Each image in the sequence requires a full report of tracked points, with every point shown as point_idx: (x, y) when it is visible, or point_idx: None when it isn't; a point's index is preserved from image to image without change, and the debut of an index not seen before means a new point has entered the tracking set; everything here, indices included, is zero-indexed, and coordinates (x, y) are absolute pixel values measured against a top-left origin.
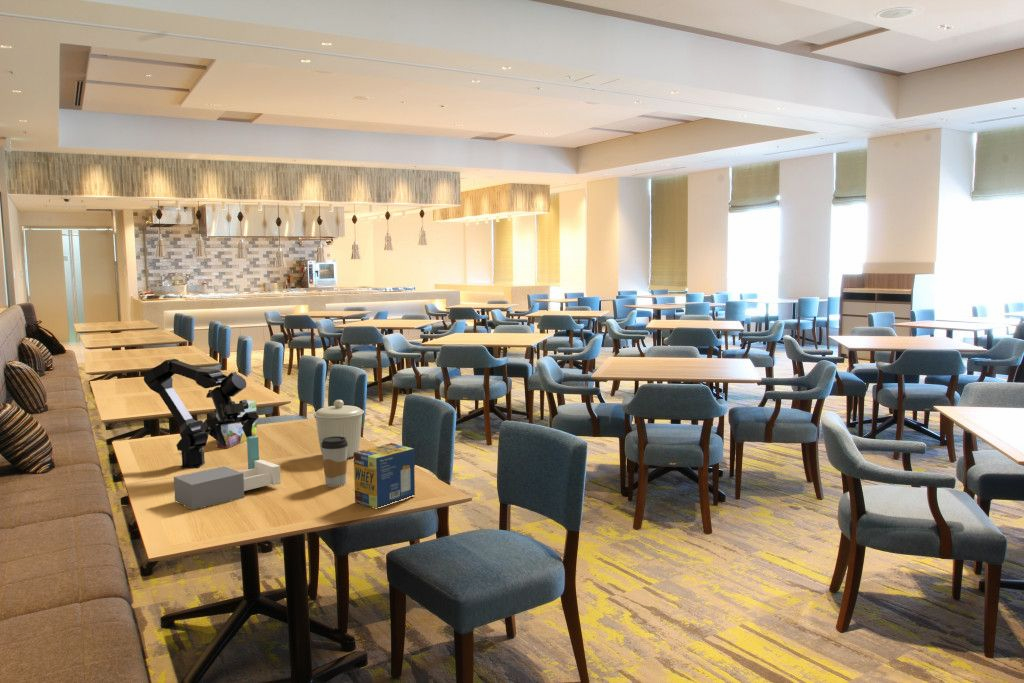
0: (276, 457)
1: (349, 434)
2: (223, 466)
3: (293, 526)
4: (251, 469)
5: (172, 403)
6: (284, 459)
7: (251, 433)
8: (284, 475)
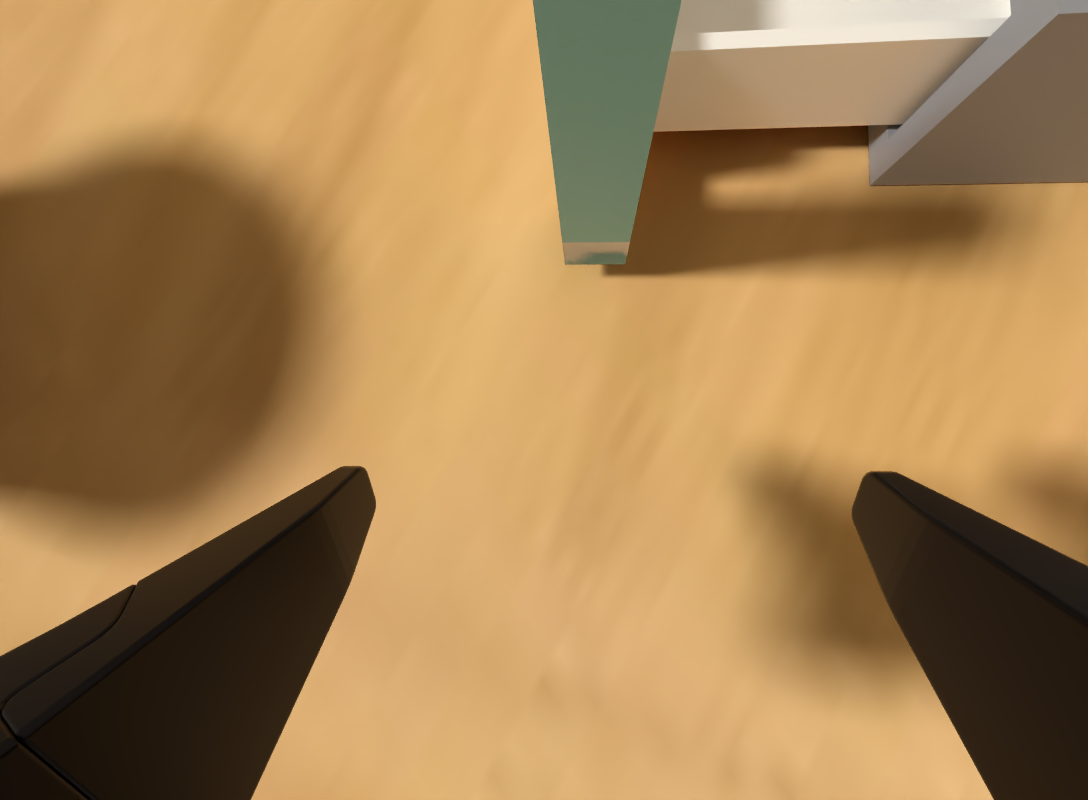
0: None
1: None
2: (1071, 9)
3: None
4: (706, 33)
5: None
6: None
7: (206, 547)
8: (385, 199)
